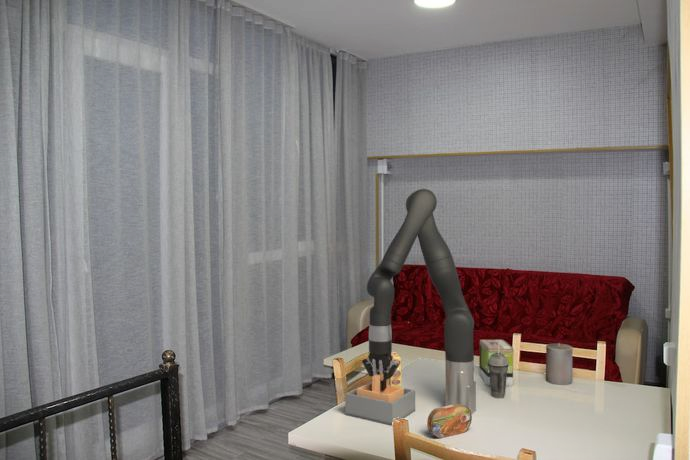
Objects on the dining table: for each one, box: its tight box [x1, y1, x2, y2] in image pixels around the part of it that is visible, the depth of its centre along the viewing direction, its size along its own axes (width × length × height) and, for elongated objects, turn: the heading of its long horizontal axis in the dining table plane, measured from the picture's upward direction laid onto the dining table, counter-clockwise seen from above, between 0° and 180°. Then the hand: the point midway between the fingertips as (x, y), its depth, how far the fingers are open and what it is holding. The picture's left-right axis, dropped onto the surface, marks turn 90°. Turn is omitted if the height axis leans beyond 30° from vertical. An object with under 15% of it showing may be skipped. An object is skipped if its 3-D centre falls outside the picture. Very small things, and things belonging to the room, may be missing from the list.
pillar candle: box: [545, 342, 574, 386], centre depth 220 cm, size 10×10×15 cm
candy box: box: [388, 351, 402, 387], centre depth 202 cm, size 9×4×15 cm, turn 8°
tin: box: [426, 404, 473, 439], centre depth 169 cm, size 15×3×8 cm, turn 117°
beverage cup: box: [488, 339, 509, 399], centre depth 203 cm, size 7×7×20 cm
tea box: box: [478, 339, 515, 387], centre depth 222 cm, size 15×10×15 cm
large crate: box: [344, 381, 416, 427], centre depth 187 cm, size 18×16×7 cm
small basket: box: [357, 372, 405, 402], centre depth 187 cm, size 12×10×10 cm
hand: (380, 390), depth 187 cm, fingers closed on small basket, 1 cm apart
